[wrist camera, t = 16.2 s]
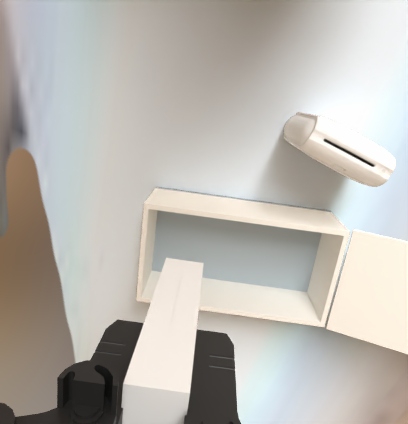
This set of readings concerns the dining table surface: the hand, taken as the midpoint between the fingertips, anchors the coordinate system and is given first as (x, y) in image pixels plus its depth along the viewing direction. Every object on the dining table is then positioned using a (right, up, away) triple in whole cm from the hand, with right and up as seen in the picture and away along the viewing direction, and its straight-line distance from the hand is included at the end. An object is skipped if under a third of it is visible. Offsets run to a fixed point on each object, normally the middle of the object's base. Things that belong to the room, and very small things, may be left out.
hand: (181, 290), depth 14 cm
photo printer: (+16, +12, +32) cm, 38 cm away
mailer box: (+5, -1, +36) cm, 37 cm away
